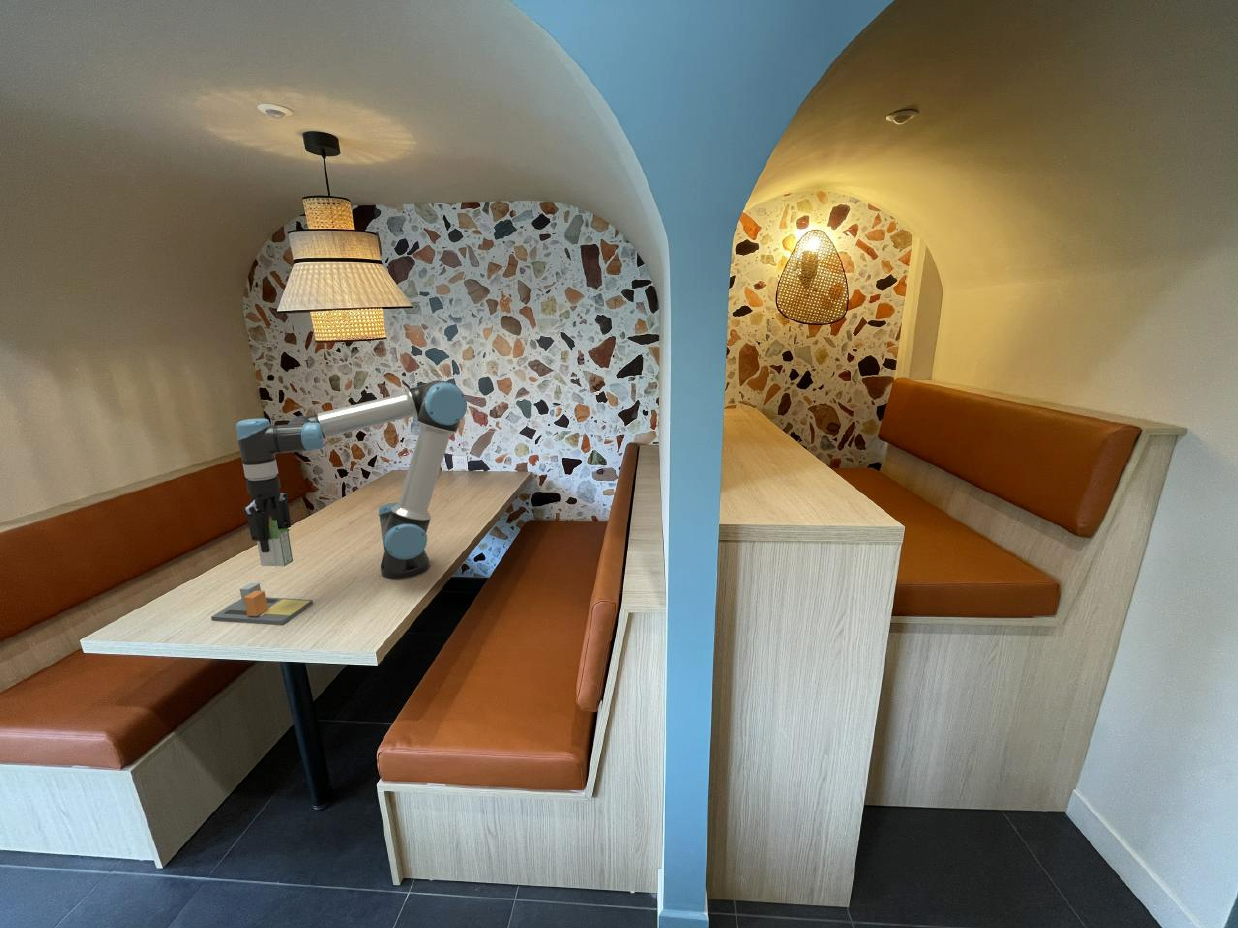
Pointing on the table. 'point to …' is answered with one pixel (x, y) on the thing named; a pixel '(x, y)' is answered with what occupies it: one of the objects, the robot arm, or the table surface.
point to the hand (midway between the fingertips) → (277, 558)
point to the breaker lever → (255, 603)
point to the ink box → (278, 546)
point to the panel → (239, 614)
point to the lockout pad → (285, 607)
